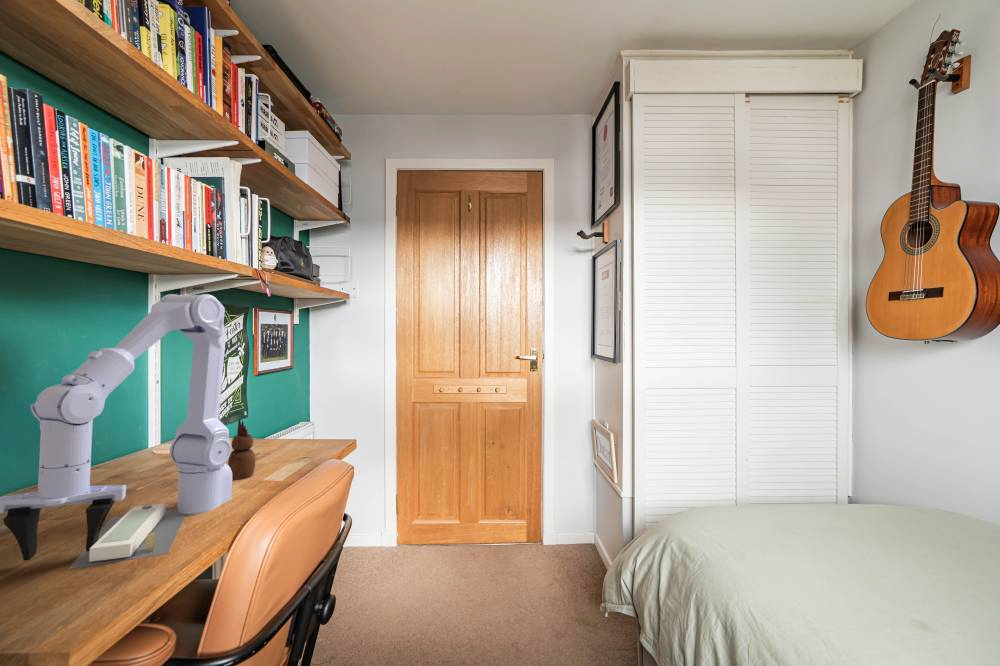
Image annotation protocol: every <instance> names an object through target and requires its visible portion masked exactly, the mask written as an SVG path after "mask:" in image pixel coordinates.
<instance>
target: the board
mask: <svg viewBox="0 0 1000 666" xmlns="http://www.w3.org/2000/svg"><path fill="white" fill-rule="evenodd" d="M186 515H187V514H182V513H179V512H178V511H177V508H176V509H169V510H165V515H164V516H163V517H162V518H161V520H160V521H159V522H158V523H157V524H156V526H155V527H154V528H153V529H152V530H151V532H150V533H148V534H147V536H146V538H145V539H144V540H143V541H142V543H141V544H140V545H139V546H138V548H137V549H136V550H135V551H134V552H133V554H132V555H131V556H130V557H123V558H115V559H107V560H100V561H92V562H89V554H90V551H88V552H86V548H84V549H83V551H82V552H81V553H80V555H79V556H78V557H77V558H76V559H75V560H74V562H73V563H72V564H71V565H70V567H69V568H68V570H72V569H73V570H74V569H79V568H85V567H92V566H99V565H104V564H111V563H117V562H125V561H129V560H130V561H131V560H136V559H137V560H138V559H142V558H149V557H155V556H156V557H157V556H162V555H168V554H169V552H170V550H171V548H172V545H173V543H174V541H175V540H176V536H177V534H178V533H179V529H180V528H181V525H182V523H183V521H184V520H185V516H186ZM123 516H124V515H120V516H112V517H110V519H109V520H108V522H107V523H106V524H105V525H104V526H102V528H101V530H100V533H99V536H98V540H99V539H100V538H101V537H102V536H103V535H104V534H105V533H106V532H107V531H109V530H110V529H111V528H112V527H113V526H114V525H115V524H116V523H117V522H118V521H119V520H120V519H121V518H122V517H123ZM98 540H97V541H98Z"/></svg>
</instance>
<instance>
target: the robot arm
mask: <svg viewBox="0 0 1000 666" xmlns="http://www.w3.org/2000/svg"><path fill="white" fill-rule="evenodd" d="M225 310H226V308H225V307H224V305H223V304H222V303H221V301H219V300H218V299H217V297H215V296H214V295H212V294H207V293H205V294H204V293H203V294H177V293H175V294H173V293H170V294H166V295H164V296H163V297H161V298H160V299H159V300H158V301H157V302H155V303H153V304H152V306H151V309H150V312H148V314H146V316H145V317H144V318H143V319H141V321H140V322H139V323H137V325H136V326H135V327H133V329H132V330H131V331H129V332H128V334H127V335H126V336H124V338H123V339H122V340H120V342H118V344H117V345H115V346H114V347H103V348H101V349H99V350H93V351H91V352H90V353H89V354H87V358H88V359H87V360H86V361H85V362H83V363H82V364H81V365H80V366H79V367H77V369H76V370H74V371H73V372H71V374H65V376H64V377H62V378H61V380H62V381H61V383H60V384H54V385H51V386H49V387H46V388H45V389H43V390H42V391H41V392H40V393H39V394H38V395H37V397H36V399H35V403H32V404H30V410H31V414H32V415H33V416H34V417H35V418H36V419H37V420H38V422H39V431H40V440H39V441H40V442H39V462H38V479H37V480H38V482H37V491H32V492H26V493H25V492H24V493H20V494H13V495H4V496H0V514H4V513H6V512H7V514H6V516H5V517H4V518H3V525H5V526H6V528H7V529H8V530H9V531H10V532H11V534H12V535H13V536H14V538H15V540H16V541H17V544H18V546H19V548H20V551H21V552H20V553H21V554H22V559H23V561H25V562H26V561H29V560H31V559H32V558H33V557H34V556H35V555H36V554H37V550H38V549H37V548H38V526H39V519H40V515H41V514H40V513H41V510H42V508H51V507H58V506H59V507H61V506H69V505H77V504H88V503H91V504H89V506H88V507H87V508H85V514H86V522H87V524H86V525H87V526H86V527H87V532H86V533H87V534H86V542H85V549H86V552H88V551H90V548H91V547H92V546H93V545H94V544H95V543H96V542H97V540H98V536H99V533H100V531H101V530H102V528H103V525H104V523H105V520H106V518H107V516H108V515H109V513H110V511H111V509H112V507H113V506H114V504H115V503H116V502H119V501H123V500H124V499H125V498H126V496H127V495H126V494H127V485H126V484H120V485H91V466H92V465H91V464H92V447H93V445H92V444H93V443H92V442H93V441H92V439H93V425H94V424H93V420H94V419H95V418H96V417H98V416H100V415H102V412H103V411H104V408H105V404H106V399H107V398H108V397H109V395H110V394H111V393H112V392H113V391H114V390H115V389H116V388H117V387H119V386H120V384H122V383H123V382H124V380H125V379H127V378H128V377H129V376H130V375H131V374H133V372H134V371H135V368H136V366H135V361H136V359H138V358H139V357H140V356H141V355H143V354H144V353H145V352H146V351H147V350H148V349H150V348H151V347H152V346H153V345H155V344H156V343H157V342H158V341H160V339H163V337H164V336H166V335H167V334H168V333H170V332H173V331H178V332H180V333H181V334H184V335H185V336H186V337H187V338H188V339H189V340H190V341H191V342H192V344H193V347H192V357H191V358H192V360H191V368H190V369H191V370H190V377H189V391H188V401H187V409H186V410H187V411H186V412H187V413H186V420H185V421H184V422H183V423H182V424H180V425H179V426H178V427H177V428H176V429H175V437H174V439H173V441H172V443H171V446H170V448H169V456H170V457H169V458H170V459H171V461H172V462H173V463H174V464H176V465H175V466H176V468H175V469H178V479H177V481H178V482H177V506H176V507H177V508H176V509H177V511H178V512H179V513H182V514H186V515H197V514H198V515H199V514H202V513H207V512H210V511H213V510H216V509H218V508H219V507H220V506H221V505H223V504H225V503H227V502H229V501H231V500H232V495H233V493H232V492H233V479H232V471H231V468H230V467H229V466H228V463H227V462H228V460H229V456H230V454H231V452H232V442H231V441H230V429H228V427H227V426H226V425H225V424H224V423H223V422H222V421H221V420H220V419H219V418H220V409H221V408H220V406H221V397H222V395H221V394H222V386H223V383H222V382H223V373H224V372H223V371H224V362H225V361H224V360H225V353H226V352H225V350H226V349H225V348H226V340H227V339H226V338H227V336H226V328H225V325H224V323H225V322H224V319H225V313H226V312H225Z"/></svg>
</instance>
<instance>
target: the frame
mask: <svg viewBox="0 0 1000 666" xmlns="http://www.w3.org/2000/svg"><path fill="white" fill-rule="evenodd" d="M165 511H166V503H158V504H157V503H156V504H155V503H154V504H147V505H136V506H135V505H134V506H132V507H131V508H130V509H129V510H128V511H127V512H126V513H124V515H122V516H123V517H122V518H121V519H120V520H119V521H118V522H117V523H116V524H115V525H114V526H113V527H112V528H111V529H110V530H109V531H107V532H106V533H105V534H104V535H103V536H102V537H101V538H100V539H99V540H98V541H97V542H96V543H95V544H94V545H93V546H92V547H91V548H90V554H89V562H92V561H100V560H107V559H115V558H123V557H130V556H131V555H132V554H133V552H134V551H135V550H136V549H137V548H138V546H139V545H140V544H141V543H142V541H143V540H144V539H145V538H146V536H147V534H148V533H150V532H151V530H152V529H153V528H154V527H155V526H156V524H157V523H158V522H159V521H160V520H161V518H162V517H163V516H164V515H165Z"/></svg>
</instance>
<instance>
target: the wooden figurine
mask: <svg viewBox="0 0 1000 666" xmlns="http://www.w3.org/2000/svg"><path fill="white" fill-rule="evenodd" d="M253 444H254V437H253V436H252V434H249V431H248V429H247V426H246V425H244V421H242V420H241V418H238V423H237V433H236V435H234V436H233V438H232V440H231V449H233V450H231V454H230V456H229V458H228V460H227V465H228V466H229V467H230V468H231V471H232V480H244V479H249V478H251V477H253V475H254V472H255V469H256V467H255V466H256V457H255V452H254V451H253V450H252V449H251V448H252V447H253Z"/></svg>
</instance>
